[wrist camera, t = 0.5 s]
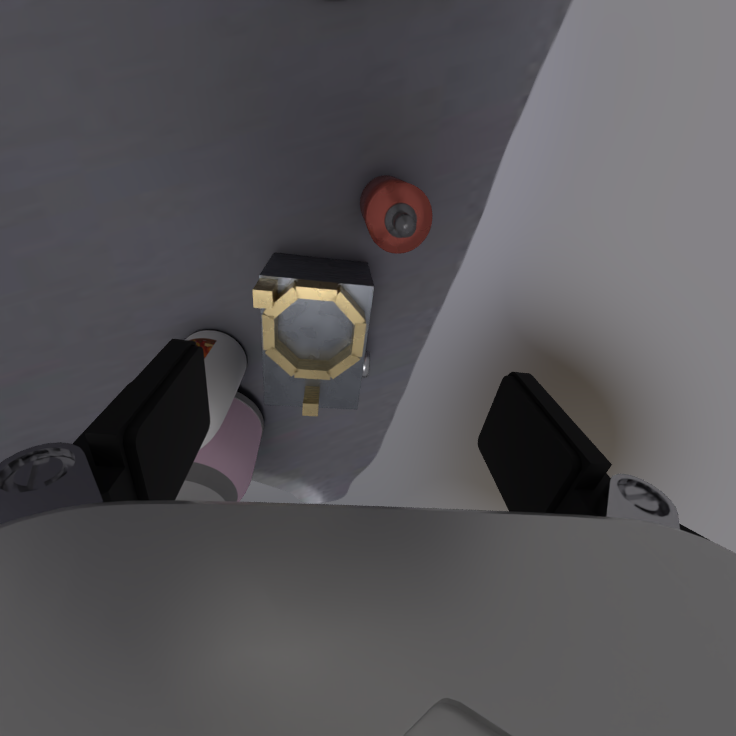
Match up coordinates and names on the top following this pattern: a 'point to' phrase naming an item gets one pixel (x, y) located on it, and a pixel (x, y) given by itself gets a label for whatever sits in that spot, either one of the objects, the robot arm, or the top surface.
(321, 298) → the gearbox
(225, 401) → the milk bottle
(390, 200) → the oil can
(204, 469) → the blender
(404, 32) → the top surface
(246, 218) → the top surface
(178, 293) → the top surface
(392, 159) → the top surface
